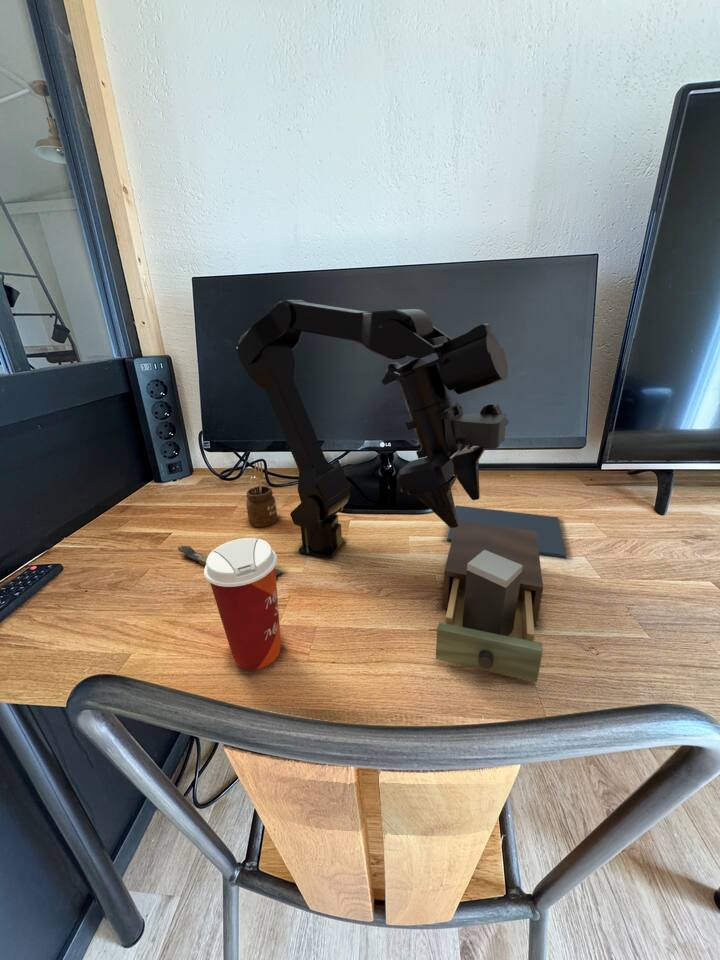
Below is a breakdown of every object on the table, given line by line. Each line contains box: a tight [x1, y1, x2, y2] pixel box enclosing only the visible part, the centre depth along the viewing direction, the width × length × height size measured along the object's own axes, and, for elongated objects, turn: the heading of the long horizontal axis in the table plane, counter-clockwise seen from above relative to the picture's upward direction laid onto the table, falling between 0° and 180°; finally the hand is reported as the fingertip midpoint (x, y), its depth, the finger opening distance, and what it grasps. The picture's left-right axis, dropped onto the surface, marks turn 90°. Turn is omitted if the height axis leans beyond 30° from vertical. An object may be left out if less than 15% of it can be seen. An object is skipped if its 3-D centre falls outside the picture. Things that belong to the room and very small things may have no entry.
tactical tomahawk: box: [177, 545, 283, 577], centre depth 70 cm, size 21×7×1 cm, turn 57°
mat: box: [446, 505, 567, 559], centre depth 77 cm, size 20×14×1 cm
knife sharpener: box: [462, 550, 523, 636], centre depth 49 cm, size 5×4×10 cm
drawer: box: [435, 577, 544, 683], centre depth 51 cm, size 15×11×5 cm
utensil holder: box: [245, 461, 278, 528], centre depth 82 cm, size 6×6×12 cm
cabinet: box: [441, 521, 544, 627], centre depth 61 cm, size 15×13×7 cm
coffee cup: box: [203, 537, 282, 671], centre depth 49 cm, size 8×8×15 cm
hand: (465, 512), depth 55 cm, fingers open, 9 cm apart
